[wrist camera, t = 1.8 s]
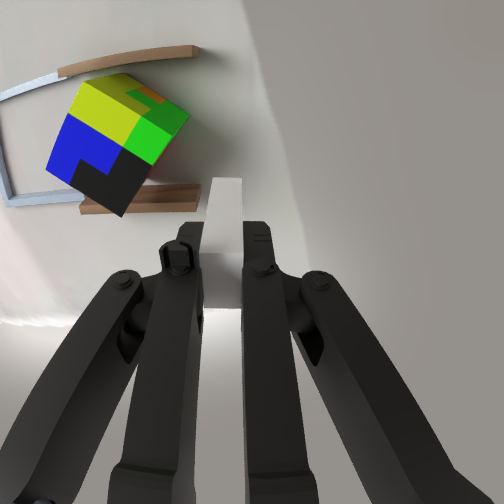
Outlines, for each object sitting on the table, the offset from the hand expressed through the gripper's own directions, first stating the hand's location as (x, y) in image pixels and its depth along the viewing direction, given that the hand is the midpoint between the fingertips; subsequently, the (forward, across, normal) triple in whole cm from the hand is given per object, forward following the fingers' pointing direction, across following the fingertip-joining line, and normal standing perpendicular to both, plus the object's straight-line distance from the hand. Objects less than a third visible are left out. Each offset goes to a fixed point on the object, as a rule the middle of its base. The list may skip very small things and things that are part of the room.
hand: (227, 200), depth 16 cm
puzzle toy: (+20, -12, 0) cm, 24 cm away
